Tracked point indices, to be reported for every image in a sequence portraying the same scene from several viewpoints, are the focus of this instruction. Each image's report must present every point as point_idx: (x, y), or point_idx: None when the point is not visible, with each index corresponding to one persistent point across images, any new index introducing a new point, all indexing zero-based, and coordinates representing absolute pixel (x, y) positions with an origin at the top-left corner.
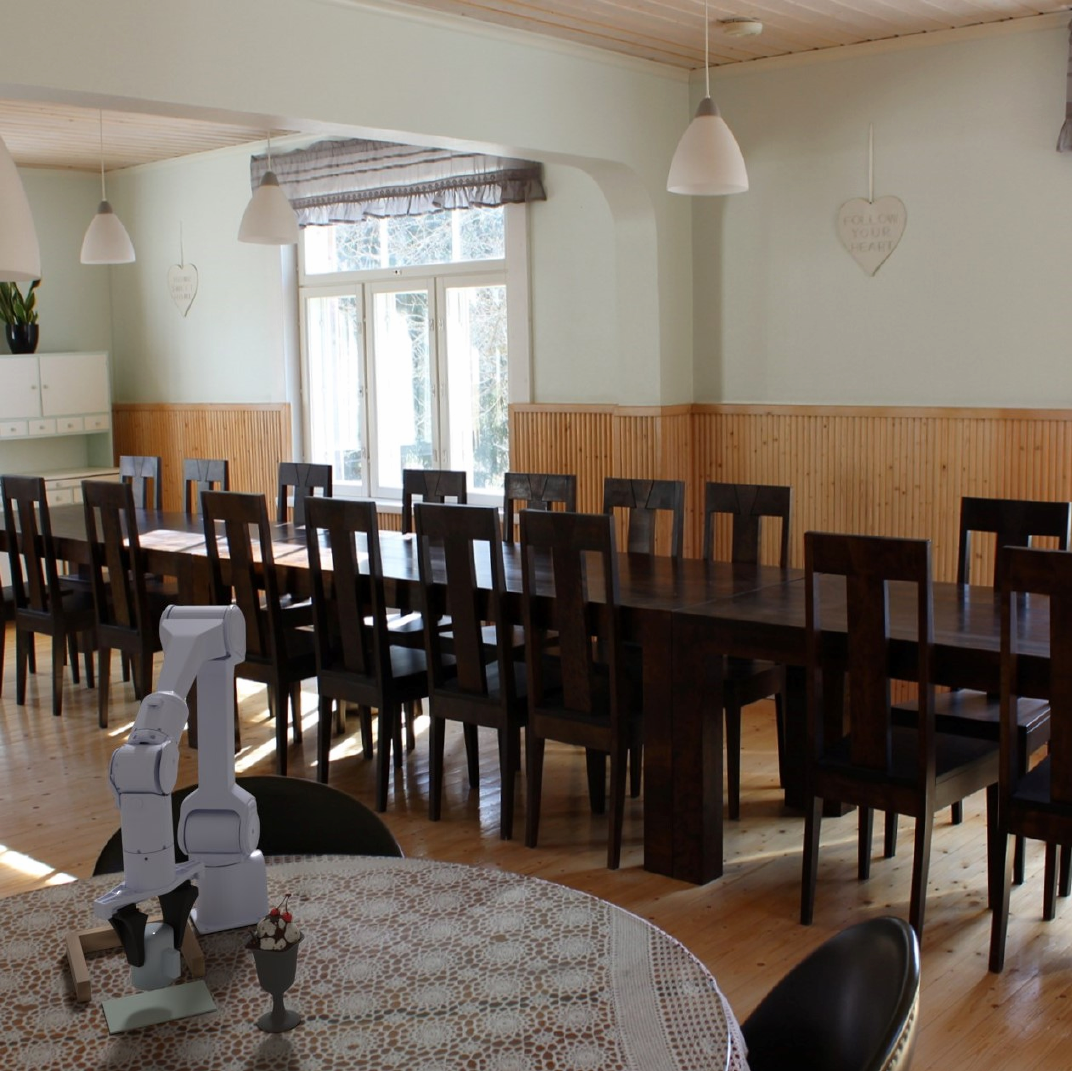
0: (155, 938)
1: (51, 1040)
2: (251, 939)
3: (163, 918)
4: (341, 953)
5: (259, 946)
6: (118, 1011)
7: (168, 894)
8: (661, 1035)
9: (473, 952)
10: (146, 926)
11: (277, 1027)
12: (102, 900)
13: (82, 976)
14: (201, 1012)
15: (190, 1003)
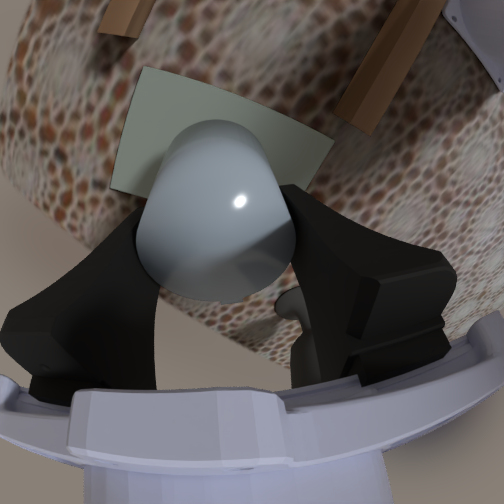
0: (203, 289)
1: (38, 143)
2: None
3: (304, 221)
4: (457, 231)
5: None
6: (148, 127)
7: (336, 345)
8: None
9: (463, 301)
10: (228, 203)
11: (285, 316)
12: (7, 440)
13: (121, 8)
14: None
15: None
